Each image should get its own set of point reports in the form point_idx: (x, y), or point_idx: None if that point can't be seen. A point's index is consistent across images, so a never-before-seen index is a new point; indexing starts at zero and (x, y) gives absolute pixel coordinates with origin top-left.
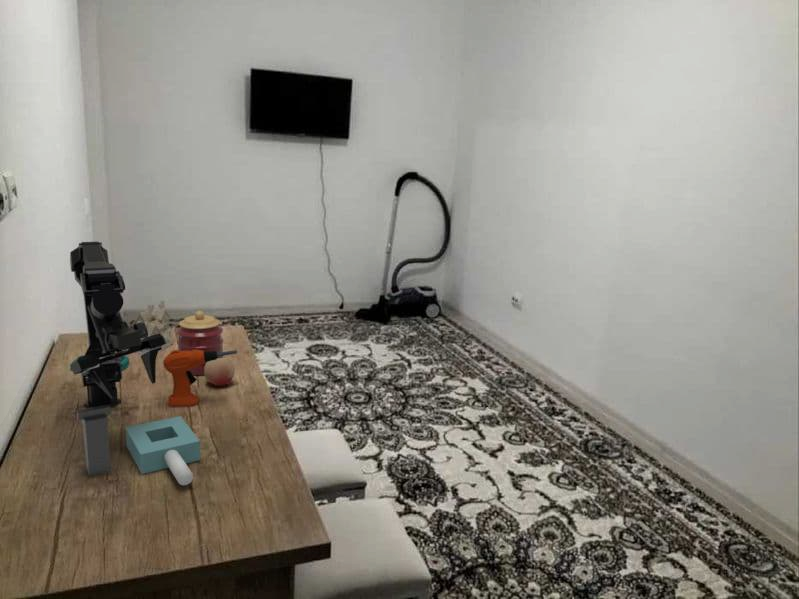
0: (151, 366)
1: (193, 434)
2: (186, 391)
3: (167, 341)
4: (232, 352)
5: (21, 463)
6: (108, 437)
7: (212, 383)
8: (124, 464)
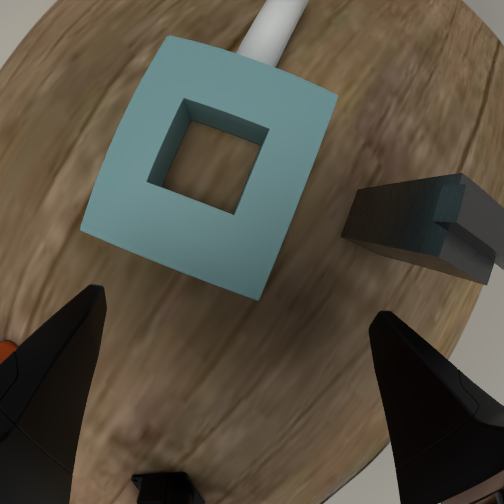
0: (38, 370)
1: (146, 77)
2: None
3: None
4: None
5: None
6: (412, 180)
7: None
8: (317, 193)
